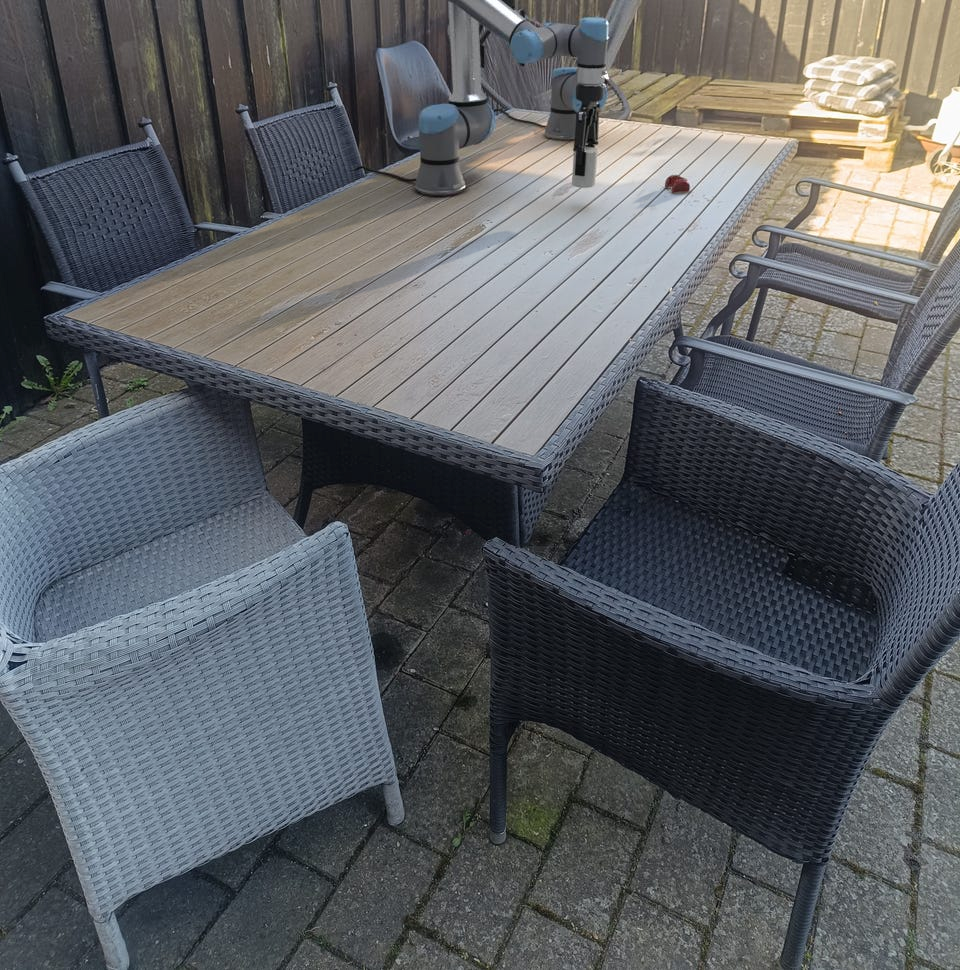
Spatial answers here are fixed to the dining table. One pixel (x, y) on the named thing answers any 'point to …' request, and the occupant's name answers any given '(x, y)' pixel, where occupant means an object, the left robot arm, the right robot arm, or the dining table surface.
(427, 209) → the dining table surface
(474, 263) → the dining table surface
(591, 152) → the canister
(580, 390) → the dining table surface
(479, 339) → the dining table surface
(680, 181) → the dental model
